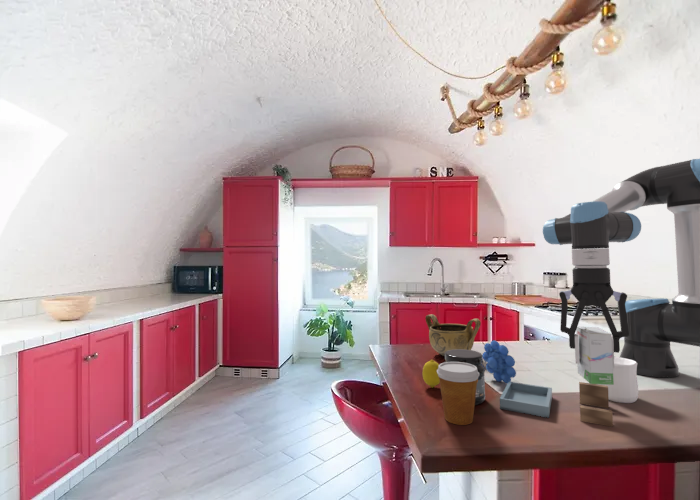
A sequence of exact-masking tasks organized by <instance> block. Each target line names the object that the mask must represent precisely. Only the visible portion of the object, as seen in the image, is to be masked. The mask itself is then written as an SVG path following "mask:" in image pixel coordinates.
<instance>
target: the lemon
mask: <svg viewBox="0 0 700 500" xmlns="http://www.w3.org/2000/svg"><path fill="white" fill-rule="evenodd" d="M439 365H440V363H438V362H437V361H435V360H434V359H430V360H429V361H427V362H425V364H424V365H423V366H422V367H423V368H422V374H421V375H422V379H423V381H424V383H425V384H426V385H428V386H429V387H430V388H432V389H434V388H435V387H436V386H438V385H440V381H439V376H438V374H437V369H438V367H439Z"/></svg>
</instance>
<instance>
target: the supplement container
mask: <svg viewBox="0 0 700 500" xmlns="http://www.w3.org/2000/svg"><path fill="white" fill-rule="evenodd" d="M482 355H483V353H481V352H479V351H477V350H472V349H471V350H466V349H453V350H448V351H446V352H445V356H444V360H445V362H463V363H469V364H472V365H474V366H476V367H477V370H478V372H479V377H478V379H477V387H476V397H475V406H477V405H480V404H482V403H484V401H485V399H486V389H485V388H486V386H485V385H486V384H485V380H486V379H485V371H486V367H485V366H484V365H483V361H484V359H483V356H482Z"/></svg>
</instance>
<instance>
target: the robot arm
mask: <svg viewBox="0 0 700 500" xmlns="http://www.w3.org/2000/svg"><path fill="white" fill-rule="evenodd" d="M654 205H655V206H656V205H666V209H667V210H668V211H669V212H671V213H672V214H673V217H674V218H673V219H674V234H675V235H674V236H675V238H674V239H675V251H676V252H675V253H676V271H677V274H676V275H677V289H678V290H677V291H678V293H677V295H675V296H674V297H673V298H672V299H671V301H672V303H671V302H670V300H669V299H668V298H664V297H663V298H661V297H660V298H639V299H628V300H627V298H628V295H627V294H626V293H625V292H620V291H615V290H613V288H612V285H611V269H610V268H609V267H607V266H609V265H610V261H611V259H610V248H609V247H610V243H625V242H631V241H633V240H635V239H636V238H637V237H638V236H639V235H640V233H641V230H642V222H641V220H640V219H639V217H638V216H637V215H635V214H633V213H630V212H627V211H635V210H637V209H639V208H641V207H648V206H654ZM542 226H543V227H542V235H543V238H544V240H545V241H546V242H547V243H548V244H550V245H560V246H562V245H571V260H572V264H571V265H572V266H574V267H573V268H572V269H571V270H572V287H571V288H570V289H569V290H565V291H564V290H561V291H560V292H559V293H558V294H559V297H560V301H561V311H560V328H559V329H560V332H562V333H565V334H567V335H568V337H569V338H568V339H569V340H568V342H569V344H568V345H569V349H573V350H574V351H575V352H574V353H575V356H574V357H575V364H576V365H577V364H579V340H578V334H576V329H577V327H579V324H580V320H581V317H582V314H583V311H584V309H585V307H590V306H594V307H597V308H598V307H600V309H601V312H602V314H603V317H604V319H605V321H606V324H607V326H608V328H609V331H610V332H611V333H610V334H612V357H613V368H614V356H615V353H620V355H619V357H621V358H626V359H630V360H634V361H636V362H637V375H639V376H640V375H641V376H647V377H653V378H675V377H676V378H677V377H678V376H679V373H680V372H679V371H680V370H679V366H678V363H677V360H676V358H675V356H674V353H673V352H672V350H671V343H676V344H682V345H689V346H693V347H694V346H695V347H700V158H692V159H690V160H689V159H688V160H685V161H680V162H675V163H670V164H666V165H661V166H655V167H652V168H649V169H645V170H643V171H640V172H638V173H636V174H634V175H632V176H630V177H628V178H625V179H624V180H623V181H620V182H618V183H617V184H616V185H614V187H613V188H612V190H611V191H608V193H606V194H603V195H602V196H600V197H599V198H596V199H595V200H593V201H584V202H577V203H575V204H573V205H572V206H571V207H570V213H569V214H567V215H565V216H564V217H560V218H557V217H555V218H552V219H548V220H547V221H545V222H544V225H542ZM571 295H572V296H573V297H574V298H575V299H576V301H578V304H577V307H576V309H575V313H574V315H573V319H572V321H571V324H570V326H569V327H567V320H568V300H570V298H571ZM612 296H613V297H614V300H615V301H616V302H617V309H618V310H617V311H618V319H619V325H620V330H617V327H616V325H615V323H614V320H613V319H612V318H613V317H612V316H611V314H610V310H609V309H608V306H607V304H606V303H607V302H608V301H609V299H611V297H612ZM622 338H623V341H624V342H623V347H622V349H620V348H621V347H620V339H622ZM620 351H621V352H620Z"/></svg>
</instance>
